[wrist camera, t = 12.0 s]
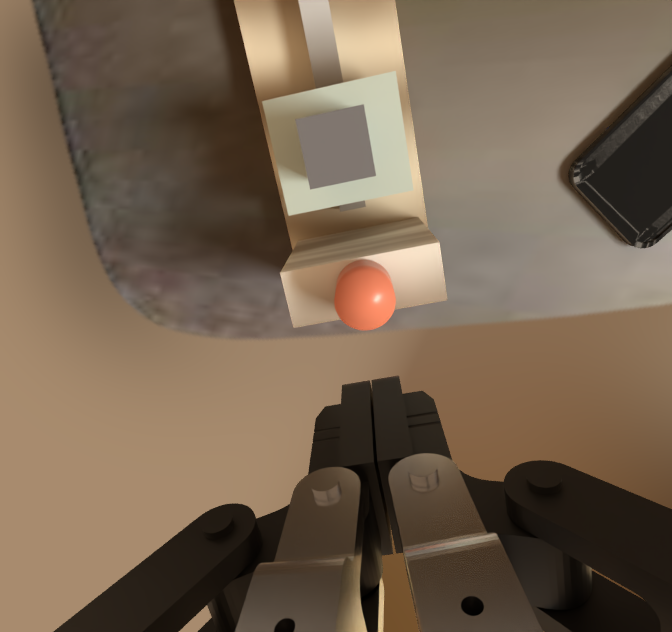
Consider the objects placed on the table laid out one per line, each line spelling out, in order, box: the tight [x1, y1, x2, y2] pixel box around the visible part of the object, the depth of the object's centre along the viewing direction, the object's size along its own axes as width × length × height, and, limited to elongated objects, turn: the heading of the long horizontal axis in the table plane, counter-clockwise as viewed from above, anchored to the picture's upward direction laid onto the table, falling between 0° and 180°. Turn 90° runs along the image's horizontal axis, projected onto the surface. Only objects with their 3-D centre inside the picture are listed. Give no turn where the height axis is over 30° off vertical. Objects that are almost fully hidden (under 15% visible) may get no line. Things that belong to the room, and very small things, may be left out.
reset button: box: [334, 260, 396, 330], centre depth 24 cm, size 3×3×2 cm
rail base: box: [234, 0, 447, 328], centre depth 27 cm, size 22×9×10 cm, turn 12°
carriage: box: [262, 71, 414, 216], centre depth 26 cm, size 6×7×8 cm
